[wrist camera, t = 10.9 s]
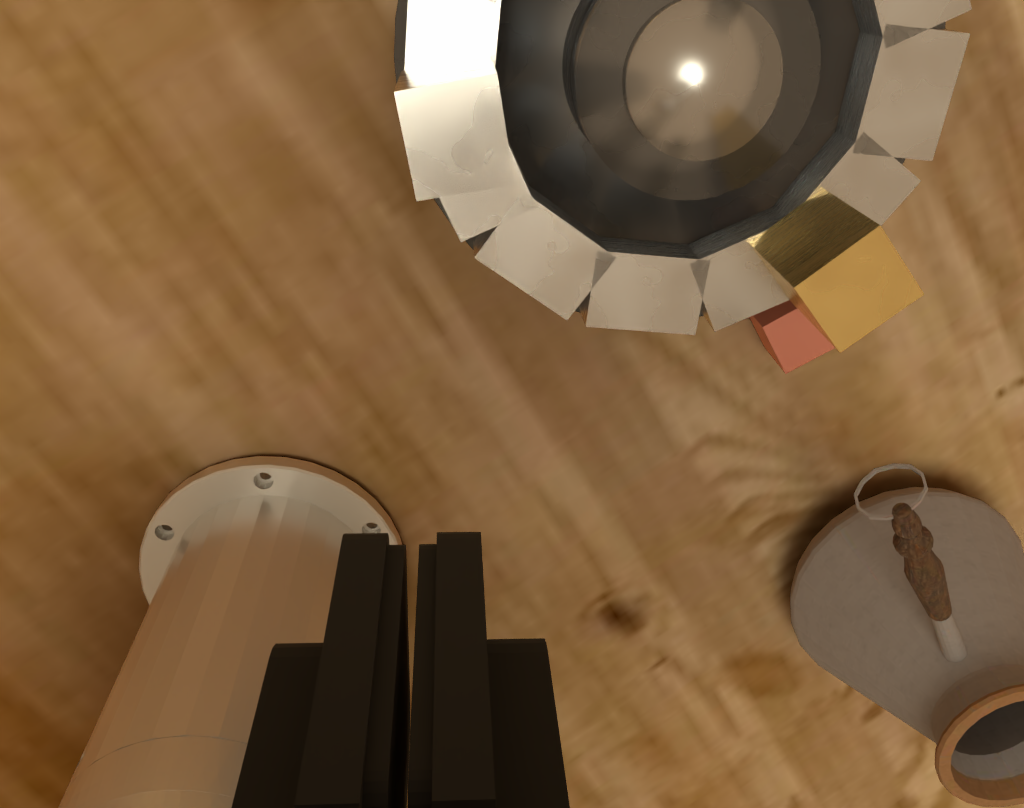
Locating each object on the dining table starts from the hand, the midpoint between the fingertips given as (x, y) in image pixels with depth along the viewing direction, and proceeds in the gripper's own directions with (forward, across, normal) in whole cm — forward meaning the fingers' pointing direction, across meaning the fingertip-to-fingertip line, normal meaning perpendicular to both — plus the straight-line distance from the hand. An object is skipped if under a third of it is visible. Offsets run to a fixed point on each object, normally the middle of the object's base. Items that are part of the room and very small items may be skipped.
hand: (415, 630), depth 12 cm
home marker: (+29, -15, +7) cm, 33 cm away
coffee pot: (+29, -20, +16) cm, 39 cm away
